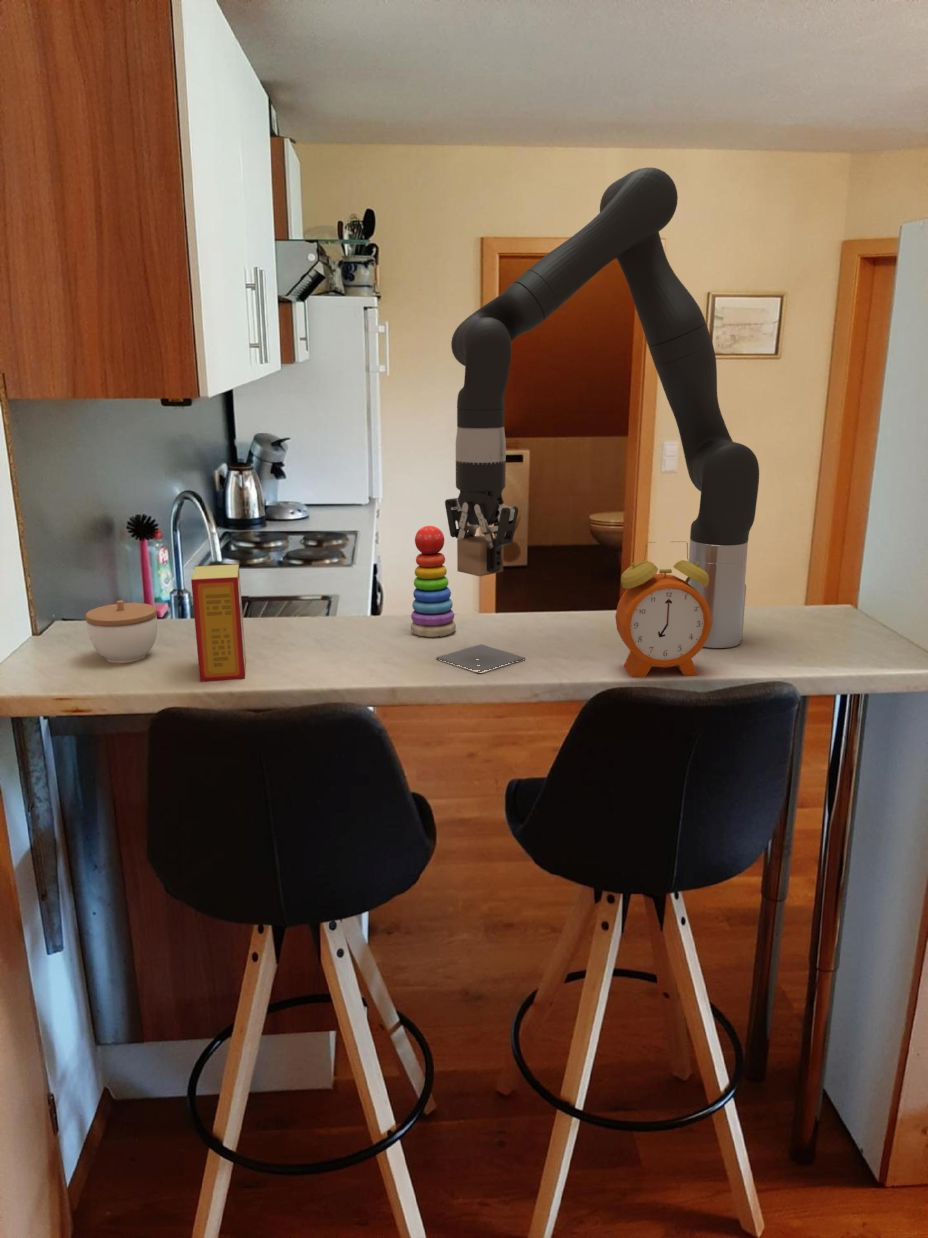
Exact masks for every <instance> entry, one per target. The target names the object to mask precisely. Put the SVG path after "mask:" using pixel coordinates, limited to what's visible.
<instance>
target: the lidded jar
mask: <svg viewBox="0 0 928 1238" xmlns="http://www.w3.org/2000/svg"><path fill="white" fill-rule="evenodd" d="M157 615H158V610H157V608H156V606H154V605H153V604H148V603H141V602H140V603H139V602H124V600H117V601H116V603H114V604H106V605H103V606H99V607H95V608H93V609H90V610H88V611H87V612H86V613H85V615H84V616H85V621H86V626H87V631H88V635H89V640H90V642H91V644H92V646H93V648H94V649H95V651H96V652H97V654H99V655H101V656H102V657H103V658H105V660H106V661H107V662H109V663H111V664H126V663H134V662H138V661H140V660H143V659H145V657H147V654H148V652H149V651H151V649H152V648H153V646H154V645H155V642H156V640H157V635H158V634H157V633H158V619H157V618H158V617H157Z"/></svg>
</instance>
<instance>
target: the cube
mask: <svg viewBox="0 0 928 1238" xmlns="http://www.w3.org/2000/svg"><path fill="white" fill-rule="evenodd" d="M456 539H457V538H456ZM493 539H495V537H493ZM456 541H457V542H456V544H457V545H456V546H457V547H456V549H457V551H456V558H457V560H456V561H457V565H456V568H457V571H456V572H458V573H462V574H467V575H472V576H476V577H484V576H489V575H493V574H497V573H501V572H504V546H503V547H502V558H501V568H500V570H499V571H497V572H493V573H491V572H488V571H487V548H488V546H487V543H486V539H485V535H483V534H482V535H475V536H474V537H468V538H463V539H457V540H456Z"/></svg>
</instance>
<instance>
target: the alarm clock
mask: <svg viewBox="0 0 928 1238" xmlns="http://www.w3.org/2000/svg"><path fill="white" fill-rule="evenodd" d="M684 542H685V543H686V558H687V560H684V559H683V560H682V559H681V560H679V561H677V562H676V563H675V564H674V565H673V566H672V567H673V568H674V569H675V570H677V571H678V572H680V574H681V573H682V574H683V575H684V576H687V577H686V579H681V578H680V577H678V576H676V575H674V574H672V573H673V571H672V569H671V568H665V569H664V568H661V569H658V567H657V566H656V565H655V563H654V562H651V561H649V560H646V554H647V545H648V543H650V544H651V543H655V541H647V542H646V543H645V549H644V559H643V560H642V561H638V562H637V563H634V562H632V563H630V566H628V568H626V570H624V571H623V573H622V574H621V578H620V581H621V582H620V583H621V586H622V588H623V589H625V591H623V594H622V596H621V597H620V599H619V601H618V603H617V607H616V611H615V616H614V617H615V625H616V630H617V632H618V634H619V637H620V638H621V641H622V642H623V643H624V645H625V646H626V647H627V648H628V650H629V654H628V656H627V658H626V659H625V662H624V664H623V667H624V668H625V670H626V671H627V672H628V674H629V675H630V676H631V677H632V678H637V677H641V678H642V677H643V678H645V677H647V675H648V673H649V672H650V671H651V669H652V667H657V668H672V667H676V669H678V670H679V672H680V673H681V674H682V675H683V676H697V675H698V672H697V670H696V668H695V665H694V662H693V660H692V659H693V658H694V657H695V656H696V655H697V654H699V652H700V651H701V650H702V649H703V648H704V647H703V646H704V644H705V642H706V641H707V639H708V637H709V633H710V628H711V613H710V609H709V607H708V605H707V603H706V600H705V599H704V598H703V596H702V595H701V594H700V593H699V592H698V591H697V590H696V589H694V588H693V587H692V586H691V585H689V584H688V582H689V580H690V579H693V580H695V581H696V582H698V583H700V584H702V585H704V586H706V587H707V586H708V583H709V576H708V574H707V573H706V572H705V571H704V570H702V569H701V568H699V567H698V566H699V565H700V562H697V563H696V565H694V564H695V563H694V564H692V563H693V562H692V563H691V562H689V561H690V560H689V546H688V544H689V543H688V542H687V541H686V540H683V541H681V540H680V541H678V540H677V541H673V540H672V541H671V543H684ZM658 571H659V573H658Z"/></svg>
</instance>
